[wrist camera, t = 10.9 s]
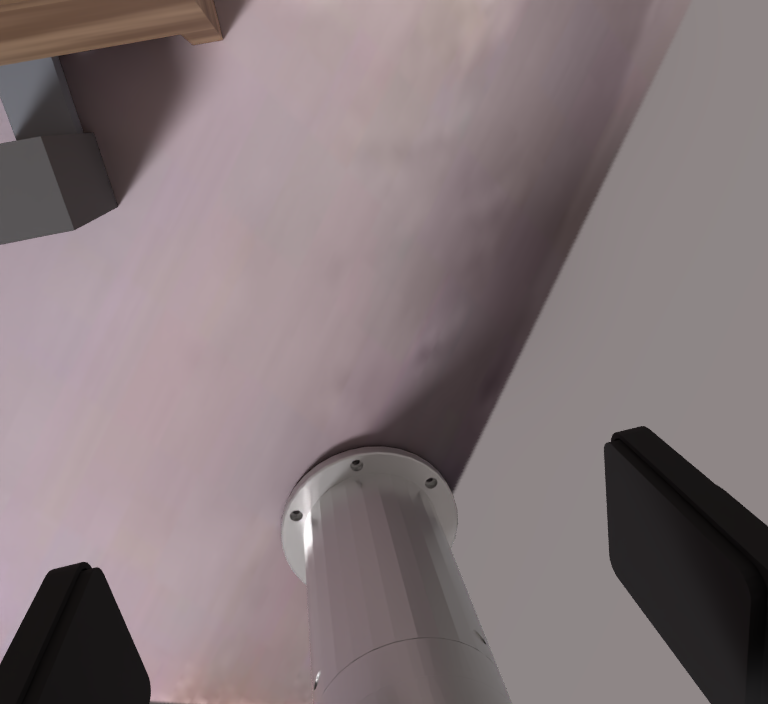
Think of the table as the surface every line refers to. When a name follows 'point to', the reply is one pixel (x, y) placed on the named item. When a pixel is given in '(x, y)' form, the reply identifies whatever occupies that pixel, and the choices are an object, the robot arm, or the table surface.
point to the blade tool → (47, 157)
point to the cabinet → (98, 25)
